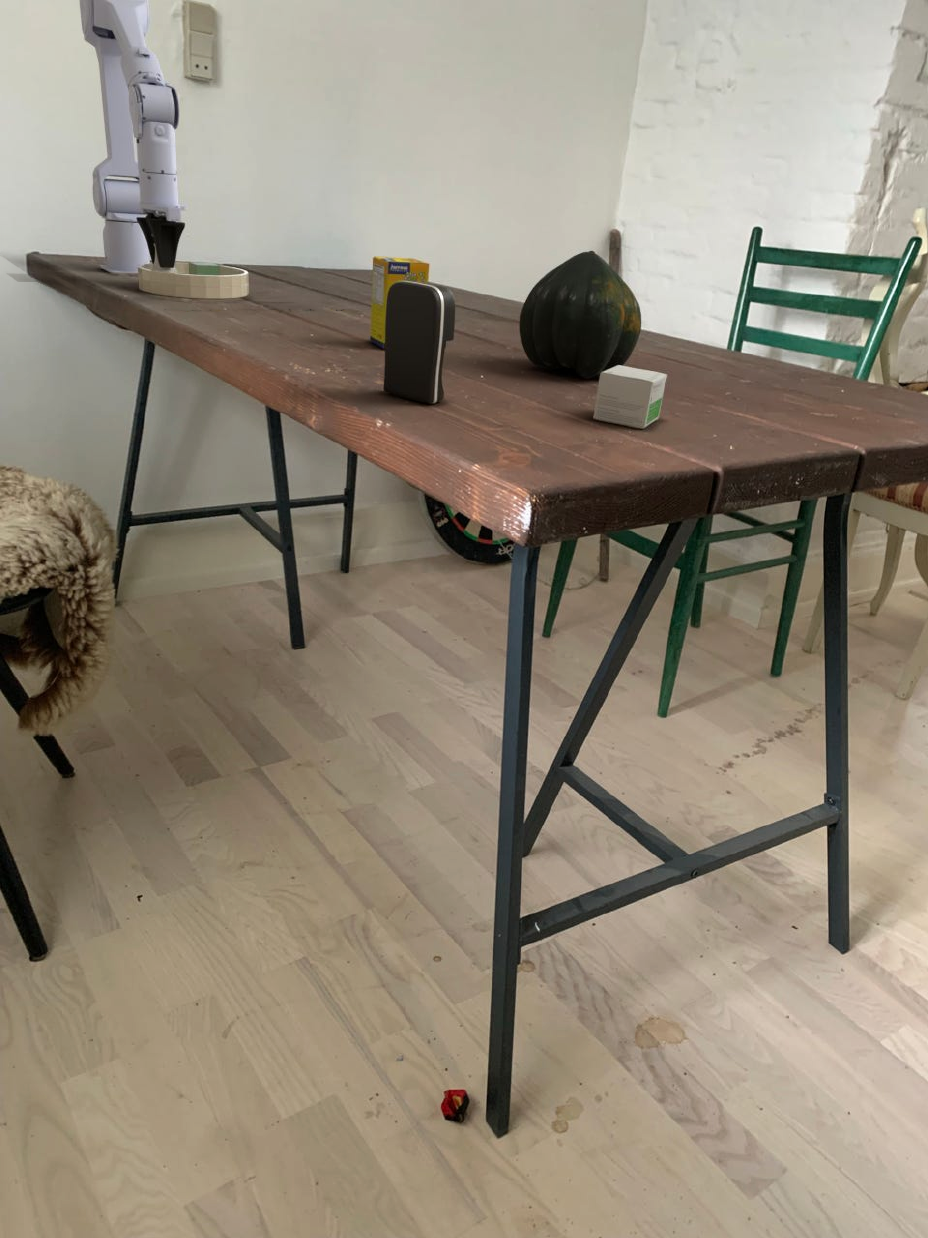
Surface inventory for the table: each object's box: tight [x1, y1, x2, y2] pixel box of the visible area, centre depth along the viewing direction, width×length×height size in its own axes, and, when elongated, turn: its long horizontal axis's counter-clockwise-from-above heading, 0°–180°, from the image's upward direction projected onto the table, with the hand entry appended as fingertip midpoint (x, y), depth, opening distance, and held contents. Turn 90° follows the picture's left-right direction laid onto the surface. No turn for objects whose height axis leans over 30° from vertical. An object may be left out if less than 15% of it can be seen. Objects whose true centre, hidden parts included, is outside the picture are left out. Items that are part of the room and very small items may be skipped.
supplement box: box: [369, 255, 430, 350], centre depth 119 cm, size 6×6×11 cm
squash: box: [519, 250, 642, 380], centre depth 113 cm, size 14×15×15 cm
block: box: [188, 261, 221, 276], centre depth 151 cm, size 4×4×4 cm
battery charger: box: [383, 281, 456, 404], centre depth 93 cm, size 7×4×11 cm, turn 52°
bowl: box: [137, 261, 250, 300], centre depth 148 cm, size 17×17×4 cm
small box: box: [592, 365, 668, 430], centre depth 93 cm, size 6×6×5 cm
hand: (163, 265), depth 147 cm, fingers closed on rook chess piece, 3 cm apart
